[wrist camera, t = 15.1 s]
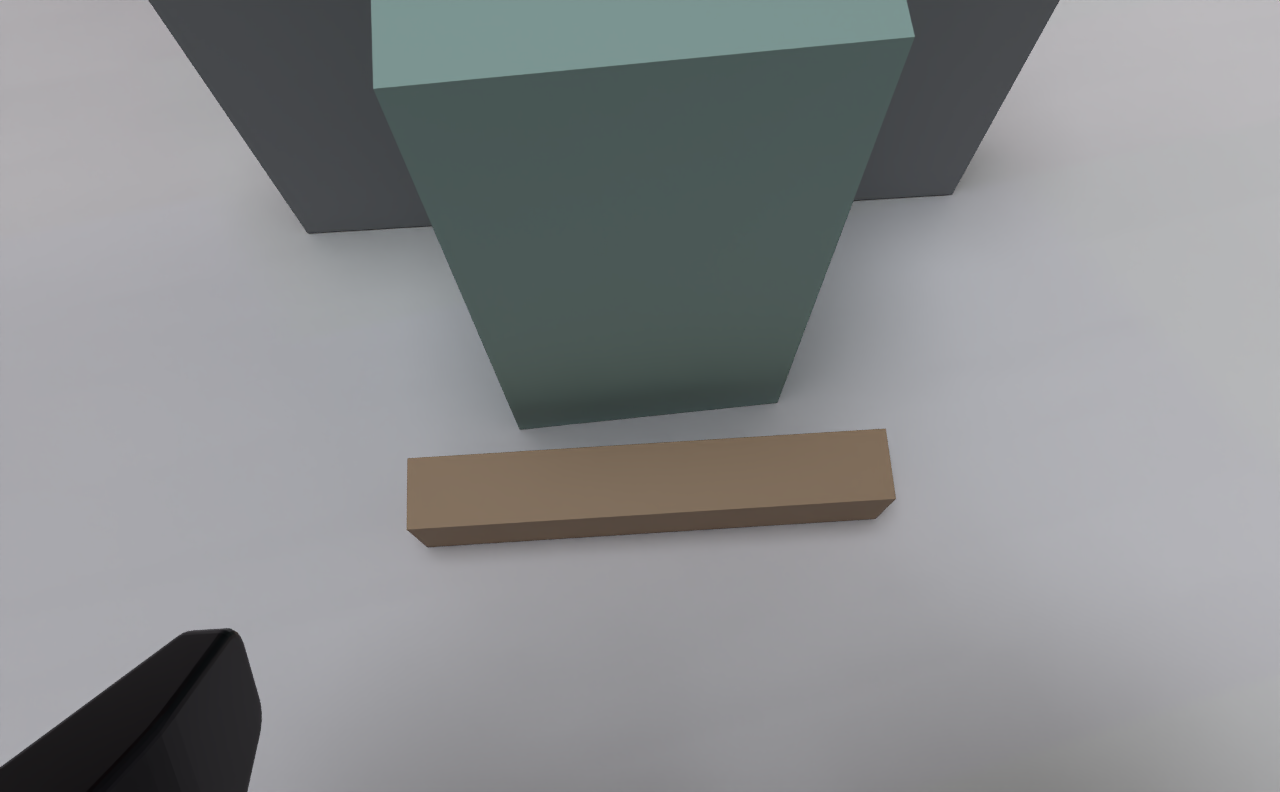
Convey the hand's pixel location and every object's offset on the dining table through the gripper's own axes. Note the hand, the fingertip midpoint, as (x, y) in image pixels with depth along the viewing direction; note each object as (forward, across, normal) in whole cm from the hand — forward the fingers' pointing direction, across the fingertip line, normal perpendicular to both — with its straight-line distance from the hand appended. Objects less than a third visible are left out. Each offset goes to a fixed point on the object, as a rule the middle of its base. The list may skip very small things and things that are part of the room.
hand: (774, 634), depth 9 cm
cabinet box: (+16, +1, +3) cm, 16 cm away
